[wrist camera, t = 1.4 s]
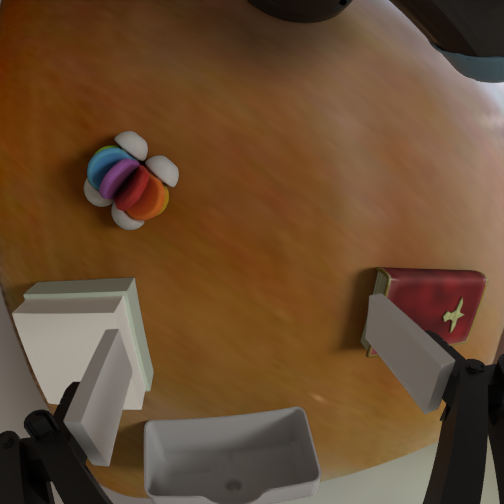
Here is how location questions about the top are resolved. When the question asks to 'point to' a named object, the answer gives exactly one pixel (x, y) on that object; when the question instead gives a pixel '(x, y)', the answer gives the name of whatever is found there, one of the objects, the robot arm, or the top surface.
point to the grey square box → (82, 332)
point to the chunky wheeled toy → (129, 181)
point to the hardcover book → (433, 300)
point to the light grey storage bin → (231, 459)
